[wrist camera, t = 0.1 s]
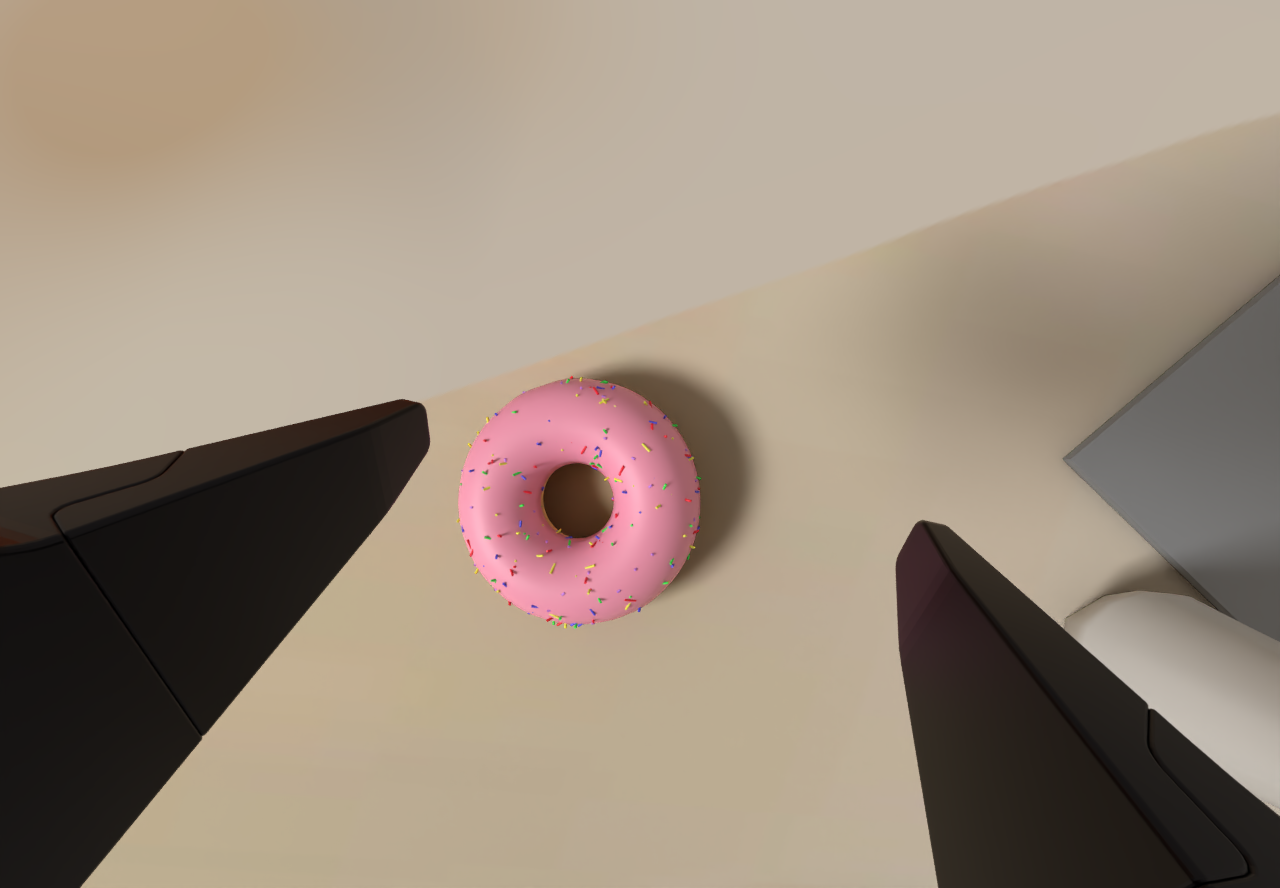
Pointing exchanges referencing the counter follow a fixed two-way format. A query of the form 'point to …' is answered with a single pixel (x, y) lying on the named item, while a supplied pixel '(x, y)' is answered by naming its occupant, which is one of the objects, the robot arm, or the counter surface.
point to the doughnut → (642, 493)
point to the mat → (1206, 464)
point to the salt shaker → (1195, 676)
